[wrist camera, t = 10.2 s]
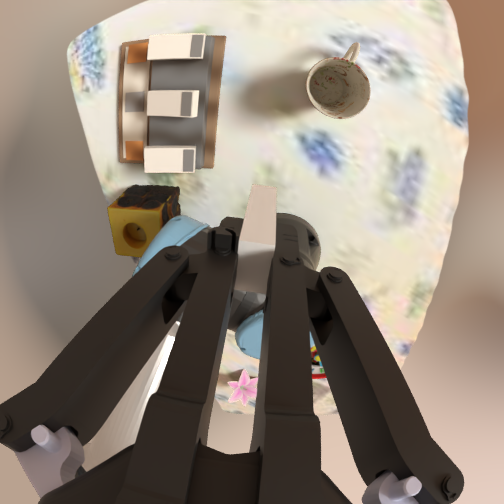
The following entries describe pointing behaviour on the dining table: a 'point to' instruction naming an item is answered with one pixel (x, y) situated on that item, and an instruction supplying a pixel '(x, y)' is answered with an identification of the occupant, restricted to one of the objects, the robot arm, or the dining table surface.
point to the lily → (243, 388)
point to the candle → (141, 216)
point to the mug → (338, 85)
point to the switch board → (169, 78)
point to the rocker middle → (173, 103)
